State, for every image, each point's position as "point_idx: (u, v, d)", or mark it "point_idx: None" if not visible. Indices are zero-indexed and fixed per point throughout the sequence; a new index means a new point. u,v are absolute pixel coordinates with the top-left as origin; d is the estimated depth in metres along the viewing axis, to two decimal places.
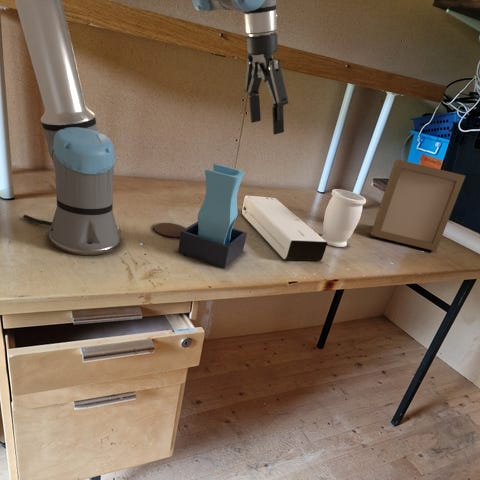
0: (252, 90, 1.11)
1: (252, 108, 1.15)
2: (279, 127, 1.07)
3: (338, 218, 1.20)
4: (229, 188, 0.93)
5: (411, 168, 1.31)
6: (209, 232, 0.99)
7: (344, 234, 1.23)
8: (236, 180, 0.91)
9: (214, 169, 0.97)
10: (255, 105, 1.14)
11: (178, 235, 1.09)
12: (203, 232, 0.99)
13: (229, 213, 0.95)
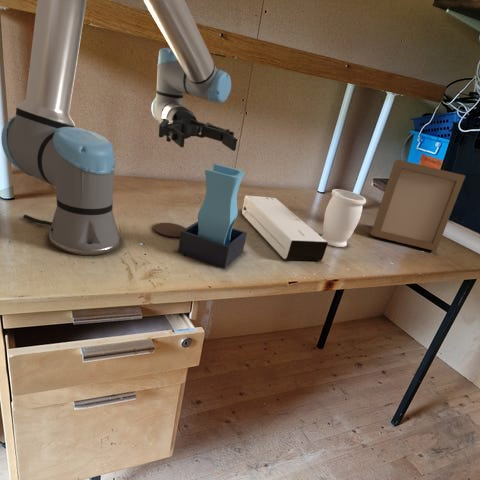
0: None
1: None
2: None
3: (338, 218, 1.20)
4: (229, 188, 0.93)
5: (411, 168, 1.31)
6: (209, 232, 0.99)
7: (344, 234, 1.23)
8: (236, 180, 0.91)
9: (214, 169, 0.97)
10: None
11: (178, 235, 1.09)
12: (203, 232, 0.99)
13: (229, 213, 0.95)
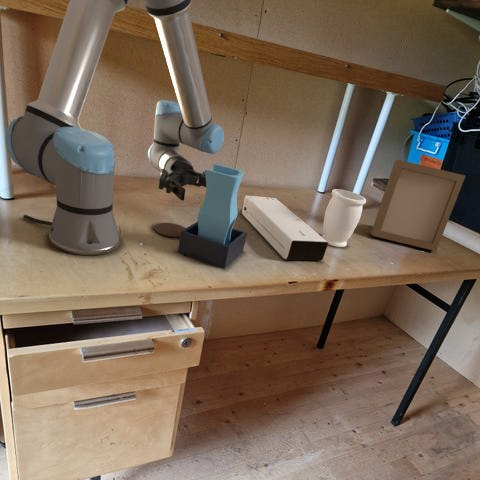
0: (173, 181, 1.05)
1: None
2: None
3: (338, 218, 1.20)
4: (229, 188, 0.93)
5: (411, 168, 1.31)
6: (209, 232, 0.99)
7: (344, 234, 1.23)
8: (236, 180, 0.91)
9: (214, 169, 0.97)
10: None
11: (178, 235, 1.09)
12: (203, 232, 0.99)
13: (229, 213, 0.95)
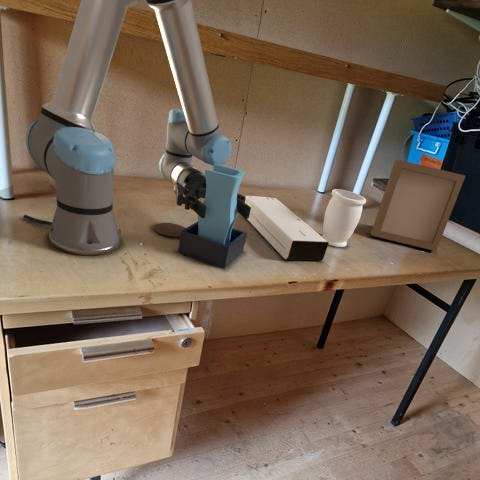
0: None
1: None
2: None
3: (338, 218, 1.20)
4: (229, 188, 0.93)
5: (411, 168, 1.31)
6: (209, 232, 0.99)
7: (344, 234, 1.23)
8: (236, 180, 0.91)
9: (214, 169, 0.97)
10: None
11: (178, 235, 1.09)
12: (203, 232, 0.99)
13: (229, 213, 0.95)
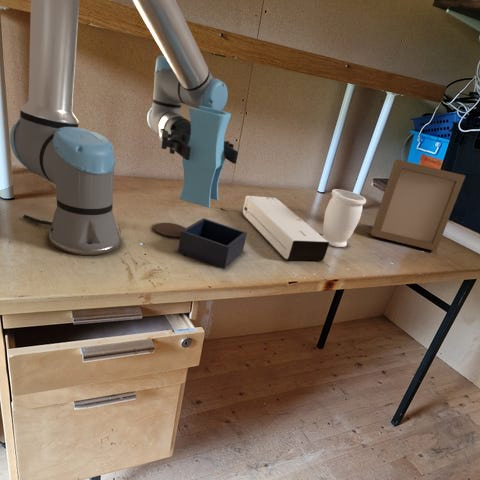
0: (177, 140, 0.95)
1: None
2: None
3: (338, 218, 1.20)
4: (214, 128, 0.89)
5: (411, 168, 1.31)
6: (195, 177, 0.95)
7: (344, 234, 1.23)
8: (221, 119, 0.88)
9: None
10: None
11: (178, 235, 1.09)
12: (188, 177, 0.96)
13: (215, 156, 0.92)
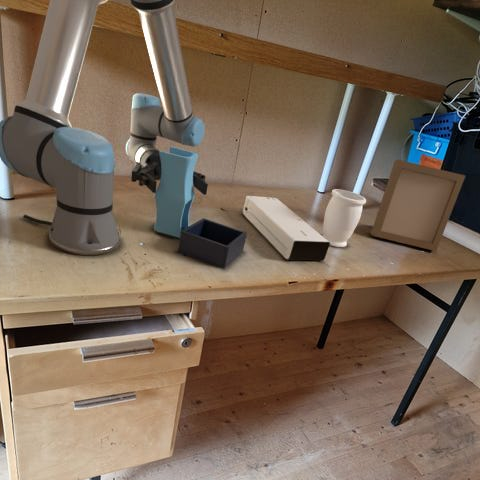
0: None
1: None
2: None
3: (338, 218, 1.20)
4: (182, 169, 0.99)
5: (411, 168, 1.31)
6: (166, 211, 1.05)
7: (344, 234, 1.23)
8: (188, 161, 0.98)
9: (170, 152, 1.04)
10: None
11: None
12: (161, 211, 1.05)
13: (184, 193, 1.02)
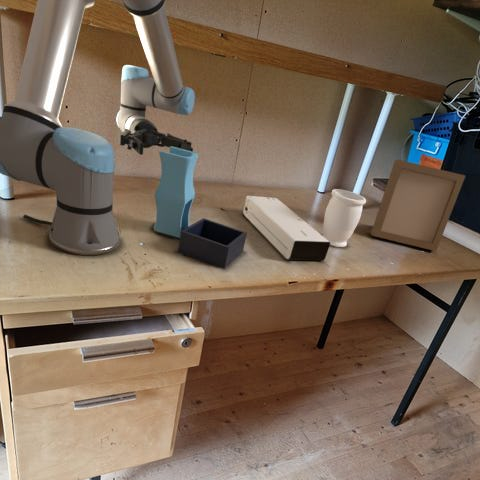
0: None
1: None
2: None
3: (338, 218, 1.20)
4: (182, 169, 0.99)
5: (411, 168, 1.31)
6: (166, 211, 1.05)
7: (344, 234, 1.23)
8: (188, 161, 0.98)
9: (170, 152, 1.04)
10: None
11: None
12: (161, 211, 1.05)
13: (184, 193, 1.02)
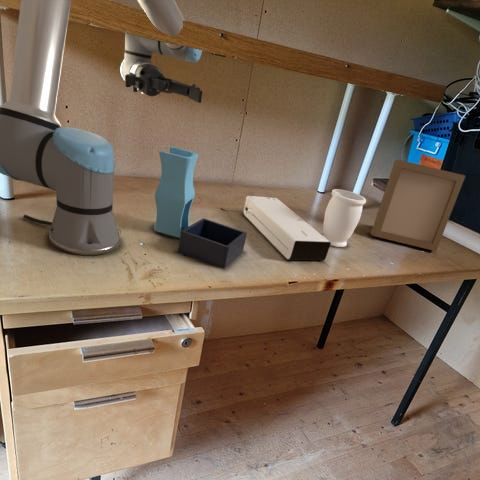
0: None
1: None
2: None
3: (338, 218, 1.20)
4: (182, 169, 0.99)
5: (411, 168, 1.31)
6: (166, 211, 1.05)
7: (344, 234, 1.23)
8: (188, 161, 0.98)
9: (170, 152, 1.04)
10: None
11: None
12: (161, 211, 1.05)
13: (184, 193, 1.02)
